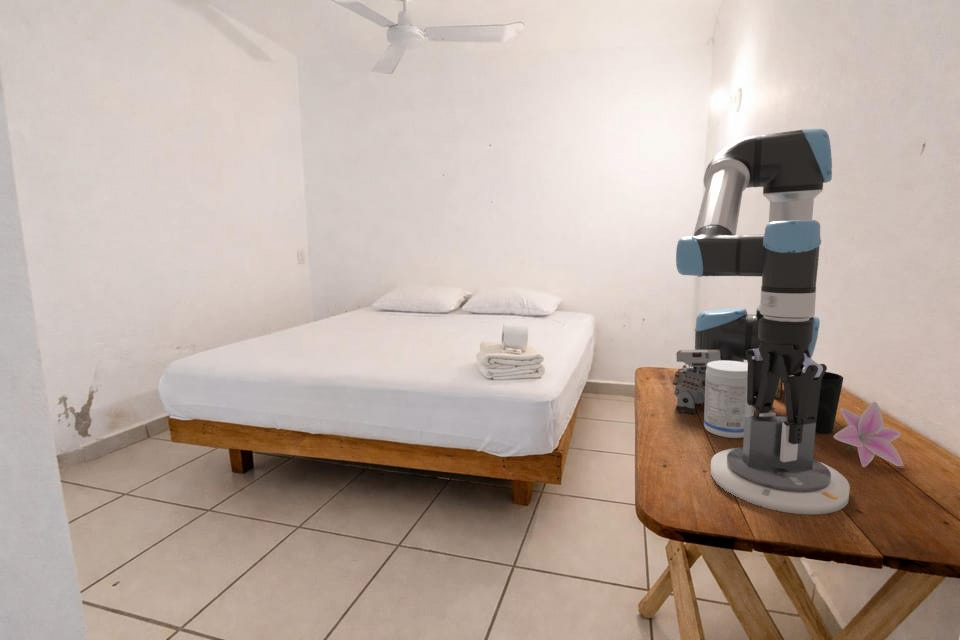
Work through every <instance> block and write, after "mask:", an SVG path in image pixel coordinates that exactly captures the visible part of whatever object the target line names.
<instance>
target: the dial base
mask: <svg viewBox="0 0 960 640" xmlns="http://www.w3.org/2000/svg"><path fill="white" fill-rule="evenodd" d="M737 448H738V447H735V448H734V447H733V448H728V449H724V450H721V451H719V452H717V453H715V454H714V455H713V456H712V457H711V461H710V476H711V475H712V477H713V479H714V480H715V481H716V483H717V484H718V485H719V486H720V487H721V488H720V487H719V486H718V485H717V484H716V483H715V484H716V485H717V486H718V487H719V488H720V489H722V488H723V489H724V490H725V492H726V491H727V492H726V493H728V492H729V493H731V494H732V495H731V494H730V495H731V496H733V495H734V496H733V497H735V496H736V497H735V498H737V497H739V498H740V499H739V498H738V499H739V500H741V499H743V500H745V501H744V502H746V501H747V502H746V503H749V502H750V503H749V504H751V503H752V505H754V504H755V506H757V505H758V506H757V507H760V506H762V507H761V508H764V509H768V510H772V511H776V510H777V512H782V513H787V514H789V513H790V514H796V515H811V516H812V515H825V514H826V515H827V514H831V513H835V512H838V511H840V510H842V509H844V508H845V507H846V506H847V505H848V503H849V501H850V492H851V491H850V489H851V488H850V483H849V481H848V480H847V478H846V477H845V476H844V475H843V474H842V473H841V472H839V471H837V470H836V469H834V468H833V467H831V466H829V465H827V464H826V463H823V462H820V461H818V460H817V461H818V462H820V463H822V464H823V465H824V466H826V467H827V468H828V469H829V471H830V473H831V481H830V484H829V485H828V486H827V487H826V488H824V489H821V490H818V491H811V492H793V491H784V490H778V489H773V488H769V487H765V486H762V485H758V484H755V483H753V482H750V481H748V480H746V479H744V478H742V477H740V476H738V475H737V474H735V473H734V472H733V471H731V470H730V468H729V467H728V465H727V455H728V453H729V452H730V451H732V450H734V449H737ZM712 477H711V478H712ZM713 479H712V480H713ZM714 480H713V481H714ZM723 489H722V490H723ZM724 490H723V491H724ZM729 493H728V494H729ZM743 500H742V501H743Z"/></svg>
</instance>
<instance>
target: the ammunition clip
mask: <svg viewBox="0 0 960 640" xmlns="http://www.w3.org/2000/svg"><path fill="white" fill-rule="evenodd" d="M783 386H784V384H783V382H782V381H781V379H779V383H778V387H777V391H776V395H775V398H774V399H777V400H778V399H779V400H782V397H783Z"/></svg>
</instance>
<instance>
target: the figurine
mask: <svg viewBox="0 0 960 640" xmlns="http://www.w3.org/2000/svg"><path fill="white" fill-rule="evenodd" d="M675 355H676V362H677V363H684V365H682V368H680V369H678V370H676V371H675V374H674V377H673V378H674V379H673V382H672V385H673V386H675V387H674V392H673V395H674V396H675V397H676V398H677V402H676V406H675V410H676V411H677V412H678V411H680V412H681V411H683V412H682V413H684V412H686V413H687V412H688V413H687V414H691V413H692V415H693V414H695V413H696V407H695V406H696V405H695V404H697V405H698V404H699V405H698V406H701V405H703V403H704V404H705V378H706V372H705V371H703V368H704V367H707V363H709V362H712V361H721V359H722V355H721V354H720V350H716V349H714V350H695V349H679V350H678V351H677V352H676V354H675Z"/></svg>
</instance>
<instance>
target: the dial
mask: <svg viewBox="0 0 960 640" xmlns="http://www.w3.org/2000/svg"><path fill="white" fill-rule="evenodd" d="M783 421H787V416H757V415H755V416H745V423H744V438H743V444H742V447H736V448H737V449H734V450H732V451H730V452H729V453H728V455H727V465H728V467H729V468H730V470H731V471H733V472H734V473H735V474H737V475H738V476H740V477H742V478H744V479H746V480H748V481H750V482H753V483H755V484H758V485H762V486H765V487H769V488H773V489H778V490H784V491H793V492H811V491H818V490H821V489H824V488H826V487H827V486H828V485H829V484H830V481H831V473H830V471H829V469H828V468H827V467H826V466H824V465H823V464H824V463H823V462H821V463H820V461H819V462H818V460H816V459H815V458H814V454H815V453H814V451H815V441H816V440H815V439H816V433H815V429H816V423H812V424H806V425H803V432H802V441H801V443H799V444H798V451H797V460H794V461H789V462H782V461H780V450H781V436H782V423H784V422H783ZM822 463H823V464H822Z"/></svg>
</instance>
